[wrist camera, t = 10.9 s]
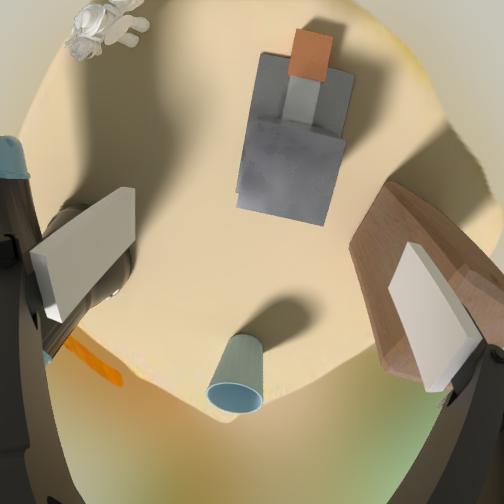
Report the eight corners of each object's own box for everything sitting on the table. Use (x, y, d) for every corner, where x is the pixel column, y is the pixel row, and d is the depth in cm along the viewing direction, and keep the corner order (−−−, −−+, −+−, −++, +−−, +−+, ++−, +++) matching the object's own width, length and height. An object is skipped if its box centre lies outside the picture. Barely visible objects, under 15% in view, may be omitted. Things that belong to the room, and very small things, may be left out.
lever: (236, 191, 35) (222, 214, 28) (265, 29, 25) (258, 10, 19) (321, 210, 34) (327, 237, 28) (359, 50, 25) (377, 37, 19)
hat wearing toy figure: (124, 69, 29) (59, 66, 18) (105, 54, 28) (38, 48, 17) (172, 11, 25) (119, -20, 14) (150, -3, 24) (94, -32, 13)
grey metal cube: (261, 115, 27) (251, 119, 20) (333, 131, 27) (346, 141, 20) (249, 182, 30) (236, 207, 24) (316, 197, 30) (323, 226, 24)
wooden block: (385, 175, 31) (473, 265, 14) (446, 214, 32) (536, 313, 15) (344, 245, 36) (377, 376, 19) (405, 275, 37) (457, 397, 19)
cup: (228, 321, 44) (213, 375, 35) (277, 337, 44) (271, 393, 35) (215, 352, 48) (200, 403, 39) (259, 366, 48) (252, 418, 39)
